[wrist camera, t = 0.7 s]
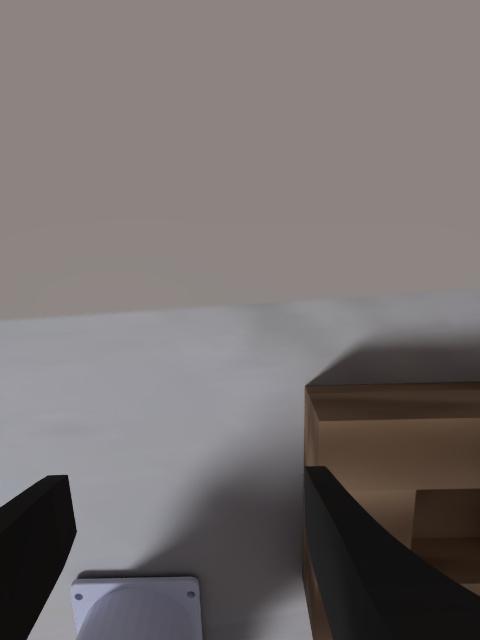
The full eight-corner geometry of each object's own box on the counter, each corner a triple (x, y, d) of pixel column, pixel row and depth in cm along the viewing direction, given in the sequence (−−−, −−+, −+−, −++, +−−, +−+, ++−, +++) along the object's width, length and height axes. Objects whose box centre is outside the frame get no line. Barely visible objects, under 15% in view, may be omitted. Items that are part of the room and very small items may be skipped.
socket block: (540, 572, 25) (596, 637, 21) (302, 577, 25) (313, 642, 21) (577, 379, 22) (651, 413, 18) (305, 386, 22) (319, 421, 18)
